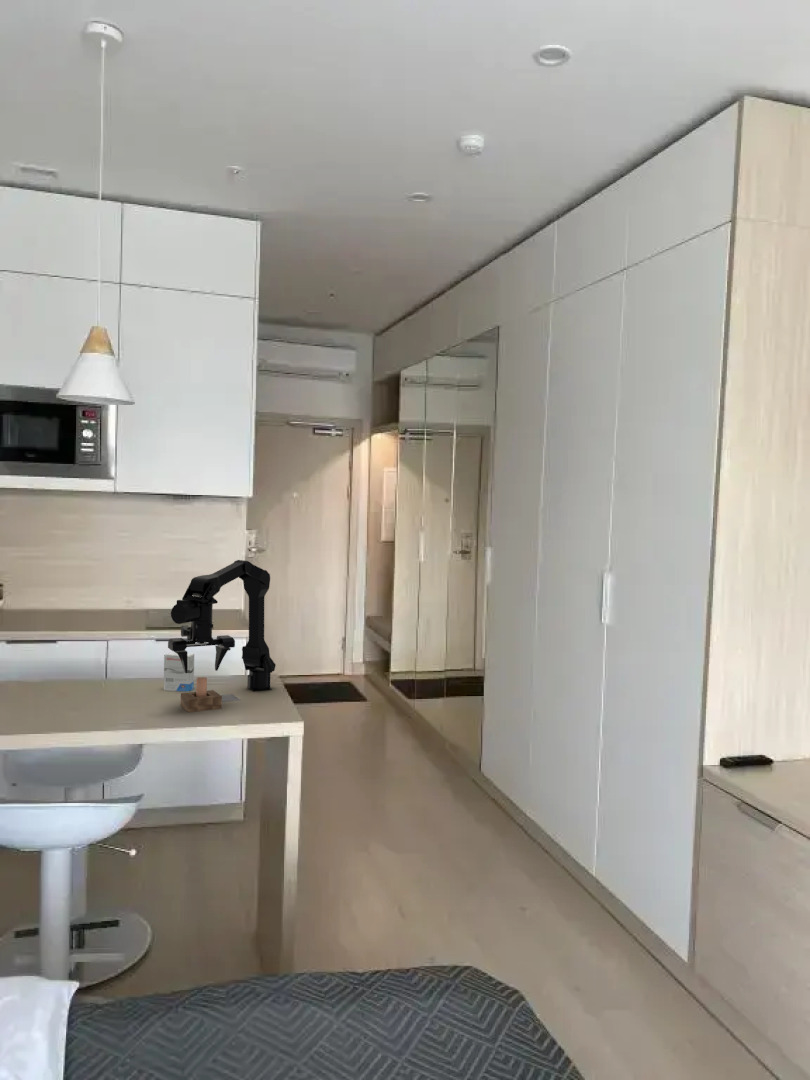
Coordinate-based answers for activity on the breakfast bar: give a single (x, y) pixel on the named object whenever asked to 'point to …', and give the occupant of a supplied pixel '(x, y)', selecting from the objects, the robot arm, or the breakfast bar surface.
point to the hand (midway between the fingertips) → (201, 671)
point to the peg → (201, 687)
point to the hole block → (201, 701)
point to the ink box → (178, 673)
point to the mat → (229, 698)
